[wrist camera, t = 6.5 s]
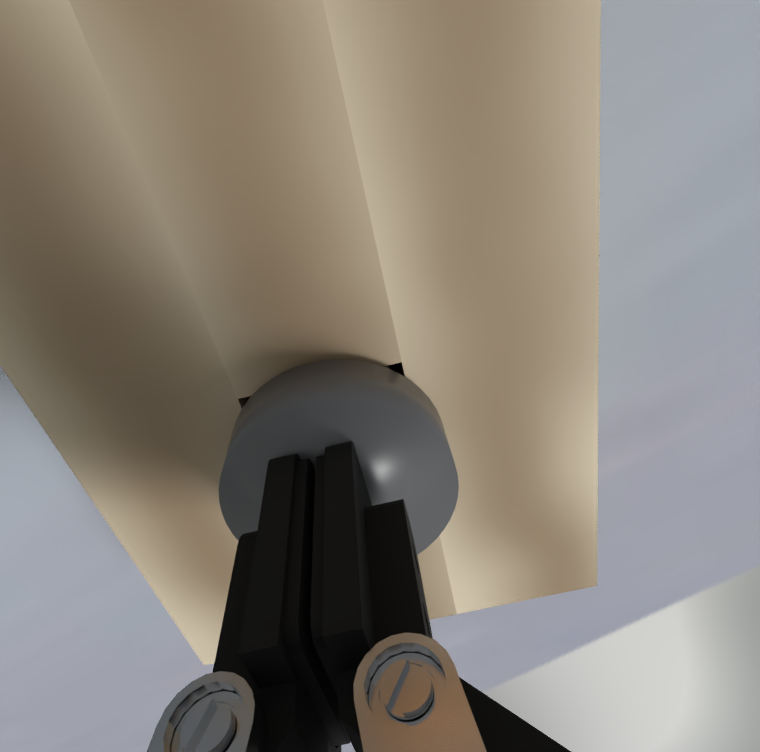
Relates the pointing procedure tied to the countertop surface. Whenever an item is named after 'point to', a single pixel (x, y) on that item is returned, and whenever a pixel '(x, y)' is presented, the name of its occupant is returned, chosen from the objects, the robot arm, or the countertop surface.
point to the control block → (308, 258)
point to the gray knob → (344, 441)
